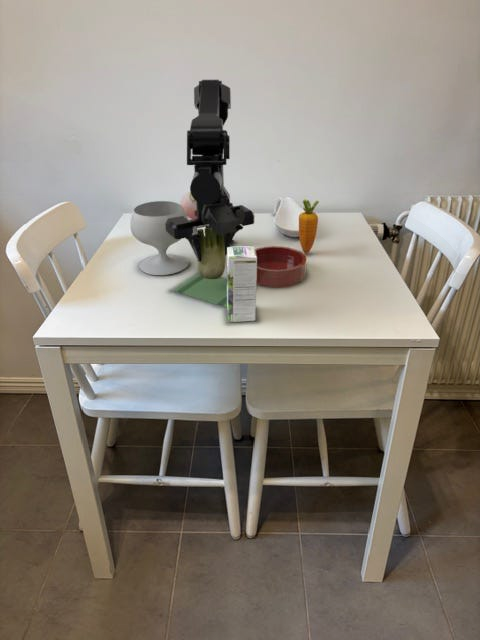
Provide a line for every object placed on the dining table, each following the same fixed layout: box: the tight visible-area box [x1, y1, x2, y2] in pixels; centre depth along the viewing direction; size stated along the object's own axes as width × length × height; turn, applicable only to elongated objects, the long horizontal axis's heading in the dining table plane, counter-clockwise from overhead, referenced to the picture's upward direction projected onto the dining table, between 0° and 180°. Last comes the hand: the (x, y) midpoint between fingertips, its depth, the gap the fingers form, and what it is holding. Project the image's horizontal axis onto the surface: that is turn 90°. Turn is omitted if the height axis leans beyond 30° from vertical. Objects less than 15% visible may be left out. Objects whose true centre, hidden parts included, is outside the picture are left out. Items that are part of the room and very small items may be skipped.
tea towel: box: [172, 272, 227, 308], centre depth 112 cm, size 15×11×1 cm
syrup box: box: [226, 245, 257, 323], centre depth 98 cm, size 6×6×14 cm
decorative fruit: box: [180, 191, 197, 220], centre depth 148 cm, size 9×8×10 cm
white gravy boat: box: [273, 196, 306, 238], centre depth 144 cm, size 24×12×7 cm, turn 10°
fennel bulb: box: [197, 227, 227, 279], centre depth 107 cm, size 6×5×12 cm
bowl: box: [255, 245, 307, 288], centre depth 117 cm, size 15×15×4 cm
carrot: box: [298, 198, 320, 255], centre depth 124 cm, size 5×5×15 cm
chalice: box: [130, 200, 189, 276], centre depth 119 cm, size 14×14×15 cm
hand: (212, 258), depth 108 cm, fingers closed on fennel bulb, 6 cm apart
